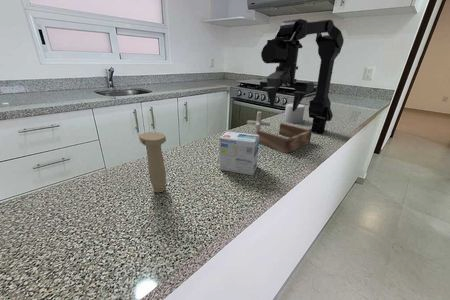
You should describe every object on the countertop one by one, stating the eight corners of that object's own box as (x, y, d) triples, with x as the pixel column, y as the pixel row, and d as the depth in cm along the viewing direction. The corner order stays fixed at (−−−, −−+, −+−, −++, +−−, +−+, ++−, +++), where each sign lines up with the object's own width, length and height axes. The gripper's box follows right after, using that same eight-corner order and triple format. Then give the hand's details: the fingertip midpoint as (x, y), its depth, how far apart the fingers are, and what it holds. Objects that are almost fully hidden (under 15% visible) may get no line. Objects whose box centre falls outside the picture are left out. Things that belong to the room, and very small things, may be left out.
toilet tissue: (295, 117, 123) (297, 102, 120) (304, 123, 111) (307, 107, 107) (280, 117, 123) (282, 102, 119) (288, 123, 110) (290, 107, 107)
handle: (160, 199, 52) (152, 141, 46) (144, 190, 55) (134, 135, 49) (175, 189, 55) (169, 135, 49) (159, 182, 59) (151, 130, 53)
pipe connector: (268, 138, 90) (271, 115, 86) (245, 136, 92) (246, 114, 88) (269, 131, 99) (271, 110, 95) (247, 129, 101) (248, 108, 97)
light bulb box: (257, 166, 68) (260, 134, 63) (253, 176, 62) (255, 142, 57) (226, 160, 71) (226, 130, 66) (219, 170, 65) (218, 137, 61)
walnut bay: (280, 133, 96) (281, 123, 94) (309, 142, 86) (311, 130, 84) (256, 142, 86) (257, 130, 84) (286, 153, 76) (288, 140, 74)
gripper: (251, 62, 73) (248, 108, 79) (300, 64, 60) (293, 118, 66) (270, 62, 80) (267, 103, 86) (318, 63, 67) (310, 112, 73)
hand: (282, 109), depth 78 cm, fingers open, 9 cm apart
